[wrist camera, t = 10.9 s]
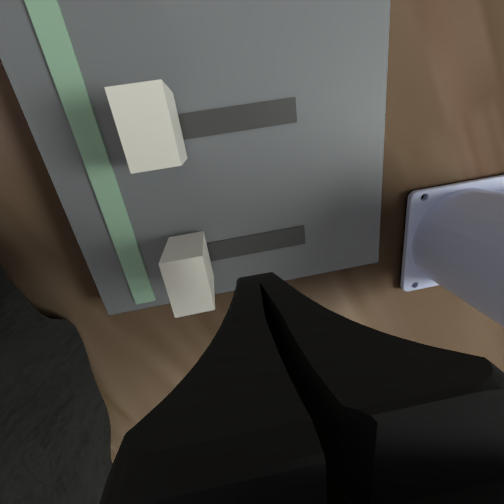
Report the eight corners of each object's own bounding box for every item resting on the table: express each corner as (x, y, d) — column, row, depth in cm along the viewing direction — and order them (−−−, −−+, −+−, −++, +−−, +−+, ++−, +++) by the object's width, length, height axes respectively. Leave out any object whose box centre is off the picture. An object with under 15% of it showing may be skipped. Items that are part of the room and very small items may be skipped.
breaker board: (372, -145, 13) (402, -196, 11) (363, 251, 21) (380, 263, 19) (-43, -110, 12) (-96, -161, 10) (117, 298, 20) (107, 317, 18)
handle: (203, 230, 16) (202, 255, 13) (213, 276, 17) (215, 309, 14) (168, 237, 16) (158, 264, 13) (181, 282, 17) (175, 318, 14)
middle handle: (172, 92, 13) (161, 79, 10) (187, 158, 15) (181, 165, 11) (130, 98, 13) (103, 87, 10) (148, 164, 14) (130, 173, 11)
